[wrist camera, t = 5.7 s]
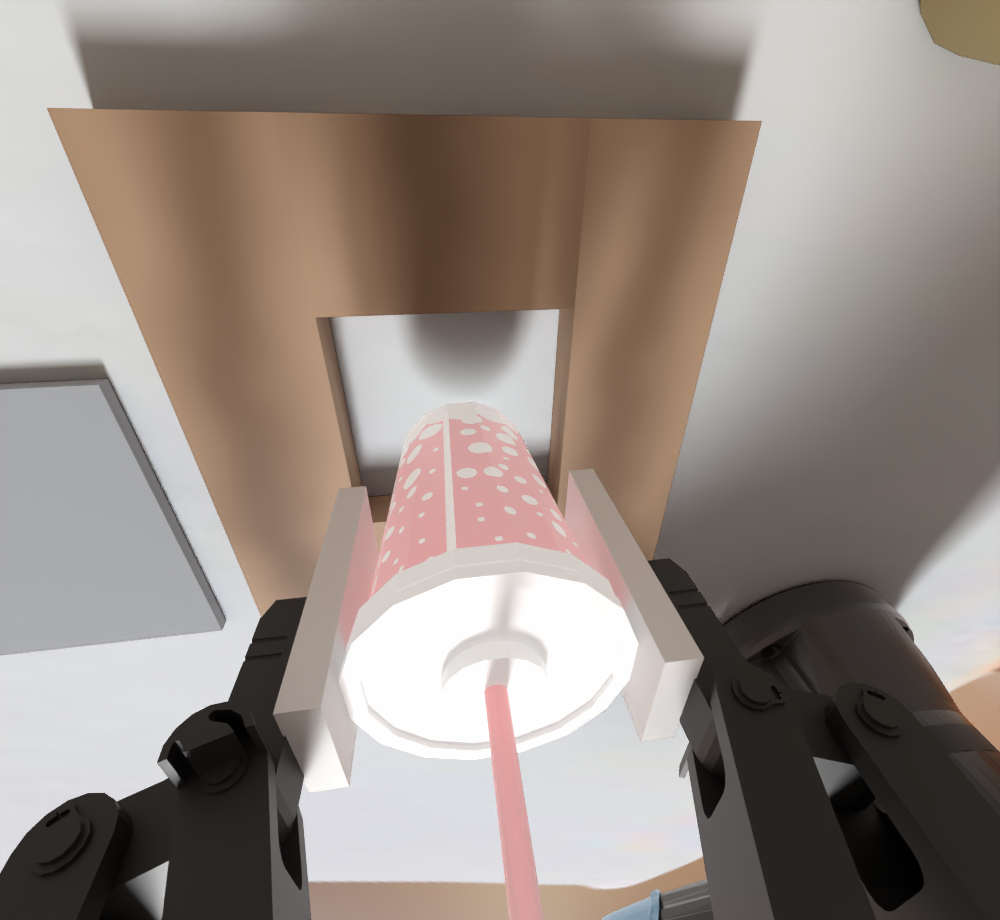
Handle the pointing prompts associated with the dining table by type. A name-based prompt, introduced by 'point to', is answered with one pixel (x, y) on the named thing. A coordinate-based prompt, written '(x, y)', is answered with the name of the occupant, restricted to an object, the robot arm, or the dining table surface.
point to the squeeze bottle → (965, 27)
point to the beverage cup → (482, 619)
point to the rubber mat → (87, 527)
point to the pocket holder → (408, 284)
